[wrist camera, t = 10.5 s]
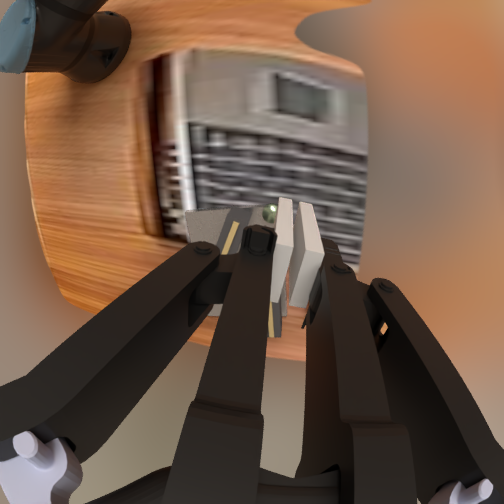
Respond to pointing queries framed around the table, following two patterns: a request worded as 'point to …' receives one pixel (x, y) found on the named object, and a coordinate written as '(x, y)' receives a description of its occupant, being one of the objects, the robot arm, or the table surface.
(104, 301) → the table surface
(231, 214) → the striped dark bar
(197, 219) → the level plate
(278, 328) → the curved tan-striped slab
